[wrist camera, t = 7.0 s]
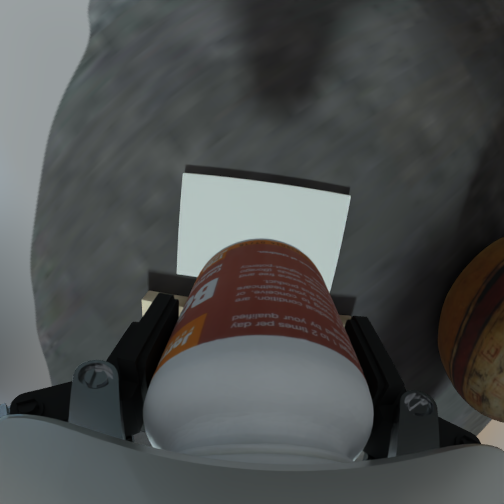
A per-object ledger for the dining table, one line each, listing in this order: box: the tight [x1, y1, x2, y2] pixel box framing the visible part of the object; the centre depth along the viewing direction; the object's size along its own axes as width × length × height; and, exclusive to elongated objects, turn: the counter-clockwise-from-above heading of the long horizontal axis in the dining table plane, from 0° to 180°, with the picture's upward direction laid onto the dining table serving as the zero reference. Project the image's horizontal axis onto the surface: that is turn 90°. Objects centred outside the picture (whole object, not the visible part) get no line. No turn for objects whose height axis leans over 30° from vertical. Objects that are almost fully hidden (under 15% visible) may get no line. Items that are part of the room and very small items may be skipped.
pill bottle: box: [143, 238, 374, 465], centre depth 9 cm, size 6×6×11 cm
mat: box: [177, 173, 351, 293], centre depth 25 cm, size 14×9×1 cm, turn 83°
